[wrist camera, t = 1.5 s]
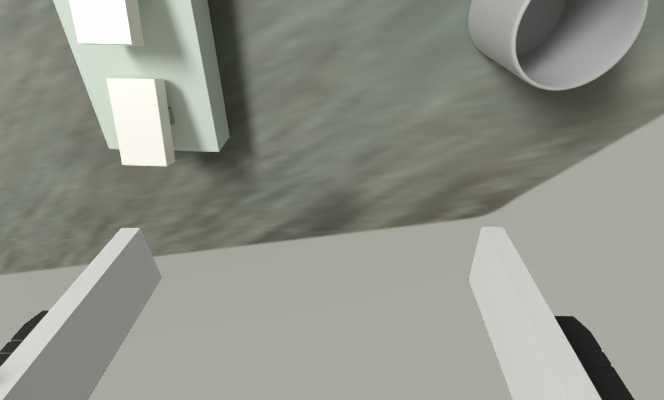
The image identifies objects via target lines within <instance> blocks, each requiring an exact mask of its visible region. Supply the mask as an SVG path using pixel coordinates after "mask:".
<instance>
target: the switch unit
mask: <svg viewBox="0 0 664 400" xmlns="http://www.w3.org/2000/svg"><path fill="white" fill-rule="evenodd" d="M53 1H54V4H55V7H56V9H57V12H58V15H59V17H60V20H61V23H62V25H63V28H64V30H65V33H66V36H67V38H68V41H69V44H70V46H71V49H72V52H73V54H74V57H75V60H76V62H77V65H78V67H79V70H80V73H81V75H82V78H83V81H84V83H85V86H86V89H87V91H88V94H89V97H90V99H91V102H92V104H93V107H94V110H95V112H96V115H97V118H98V120H99V123H100V126H101V128H102V131H103V134H104V136H105V139H106V141H107V144H108V147H109V149H119V144H118V138H117V133H116V128H115V122H114V117H113V112H112V106H111V101H110V96H109V91H108V85H107V80H106V78H148V79H164V81H165V89H166V96H167V103H168V111H169V118H170V126H171V133H172V141H173V148H174V151H201V152H219V151H220V150H221V149H222V147H223V146H224V144H225V143H226V141H227V140H228V139H229V137H230V135H229V129H228V123H227V117H226V111H225V105H224V98H223V92H222V86H221V80H220V74H219V68H218V62H217V56H216V50H215V44H214V38H213V31H212V25H211V19H210V13H209V7H208V1H207V0H137V1H138V8H139V14H140V21H141V28H142V35H143V41H144V46H124V45H90V44H81V43H78V41H77V36H76V31H75V26H74V21H73V17H72V12H71V7H70V2H69V0H53Z"/></svg>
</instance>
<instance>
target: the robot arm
mask: <svg viewBox="0 0 664 400" xmlns="http://www.w3.org/2000/svg"><path fill="white" fill-rule="evenodd" d="M161 278H162V277H161V275H160V272H159V270H158V268H157V265H156V263H155V261H154V259H153V256H152V254H151V252H150V249H149V247H148V245H147V243H146V240H145V238H144V236H143V234H142V231H141V229H140V228H121V229H120V230H119V231H118V232H117V234H116V235H115V236H114V237H113V238H112V239H111V241H110V242H109V243H108V244H107V245H106V246H105V247H104V249H103V250H102V251H101V252H100V253H99V254H98V255H97V257H96V258H95V259H94V260H93V261H92V262H91V263H90V265H89V266H88V267H87V268H86V269H85V270H84V272H83V273H82V274H81V275H80V276H79V277H78V278H77V280H76V281H75V282H74V283H73V284H72V285H71V286H70V288H69V289H68V290H67V291H66V292H65V293H64V294H63V296H62V297H61V298H60V299H59V300H58V302H57V303H56V304H55V305H54V306H53V307H52V308H51V309H50V311H42V312H40V313H39V314H38V315H36V316H35V317H34V318H32V319H31V320H30V321H28V322H27V323H26V324H24V325H23V327H22V328H21V329H20V330H19V331H18V332H17V333H16V334H15V335H14V337H13V338H12V339H11V342H8V343H7V344H6V346H4V348H3V349H2V350H1V351H0V400H88V399H89V397H90V395H91V394H92V392H93V390H94V389H95V387H96V385H97V384H98V382H99V380H100V379H101V377H102V376H103V374H104V372H105V371H106V369H107V367H108V366H109V364H110V362H111V361H112V359H113V357H114V356H115V354H116V352H117V351H118V349H119V347H120V346H121V344H122V342H123V341H124V339H125V337H126V336H127V334H128V333H129V331H130V329H131V328H132V326H133V324H134V323H135V321H136V319H137V318H138V316H139V314H140V313H141V311H142V309H143V308H144V306H145V304H146V303H147V301H148V300H149V298H150V296H151V295H152V293H153V291H154V290H155V288H156V286H157V285H158V283H159V281H160V280H161ZM469 282H470V285H471V287H472V290H473V293H474V295H475V298H476V301H477V303H478V306H479V309H480V311H481V314H482V317H483V320H484V323H485V325H486V328H487V330H488V333H489V336H490V339H491V341H492V344H493V347H494V350H495V352H496V355H497V358H498V361H499V363H500V366H501V369H502V371H503V374H504V377H505V379H506V382H507V385H508V388H509V390H510V393H511V396H512V398H513V400H634V398H633V397H632V395H631V394H630V392H629V391H628V389H627V388H626V386H625V385H624V383H623V381H622V380H621V378H620V377H619V375H618V374H617V372H616V371H615V369H614V368H613V367H611V363H610V361H609V360H608V358H607V357H606V355H605V354H604V353H603V352H602V351H601V348H600V346H599V344H598V343H597V341H596V340H595V338H594V337H593V335H592V334H591V332H590V331H589V330H588V329H587V328H586V327H585V326H583V325H582V324H581V323H580V322H579V321H578V320H577V319H576V318H574V317H573V316H554V315H553V314H552V312H551V310H550V308H549V307H548V305H547V303H546V301H545V300H544V298H543V296H542V295H541V293H540V291H539V289H538V287H537V286H536V284H535V282H534V280H533V279H532V277H531V275H530V273H529V272H528V270H527V268H526V267H525V265H524V263H523V261H522V259H521V258H520V256H519V254H518V252H517V251H516V249H515V247H514V245H513V244H512V242H511V241H510V239H509V237H508V235H507V233H506V231H505V230H504V228H503V227H482V228H481V232H480V236H479V240H478V244H477V248H476V252H475V256H474V260H473V264H472V268H471V272H470V276H469Z"/></svg>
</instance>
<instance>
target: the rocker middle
mask: <svg viewBox="0 0 664 400" xmlns="http://www.w3.org/2000/svg"><path fill="white" fill-rule="evenodd" d="M69 2H70V7H71V12H72V17H73V21H74V26H75V31H76V36H77V41H78V43H81V44H90V45H124V46H144V41H143V35H142V28H141V21H140V14H139V8H138V1H137V0H69Z"/></svg>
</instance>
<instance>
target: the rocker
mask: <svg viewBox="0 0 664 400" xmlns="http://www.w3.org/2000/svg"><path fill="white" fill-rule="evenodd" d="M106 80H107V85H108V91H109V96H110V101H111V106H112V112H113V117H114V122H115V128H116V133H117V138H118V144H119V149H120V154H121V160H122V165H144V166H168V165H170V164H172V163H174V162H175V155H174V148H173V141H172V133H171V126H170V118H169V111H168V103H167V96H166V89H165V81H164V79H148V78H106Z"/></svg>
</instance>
